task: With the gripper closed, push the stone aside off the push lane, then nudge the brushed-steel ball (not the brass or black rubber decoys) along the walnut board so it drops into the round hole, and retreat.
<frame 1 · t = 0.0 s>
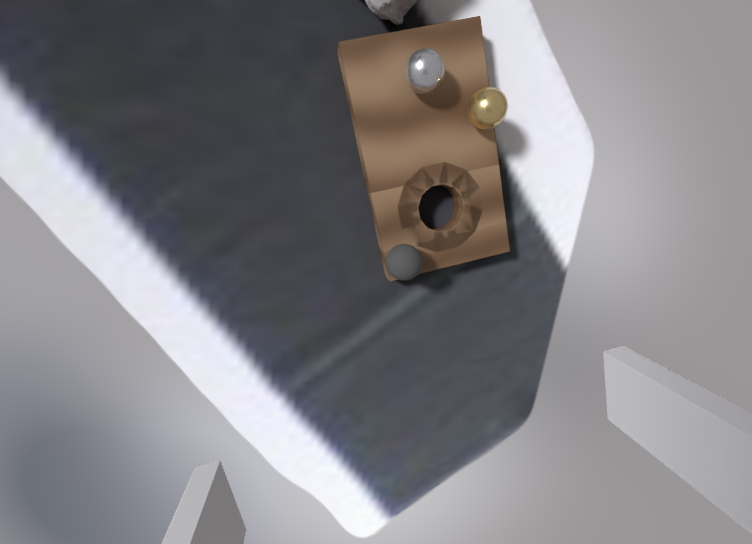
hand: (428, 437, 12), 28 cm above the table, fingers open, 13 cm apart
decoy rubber: (404, 262, 36), point 4 cm above the table, touching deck
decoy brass: (487, 108, 34), point 4 cm above the table, touching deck
ball: (424, 71, 32), point 4 cm above the table, touching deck
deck: (425, 158, 38), on the table
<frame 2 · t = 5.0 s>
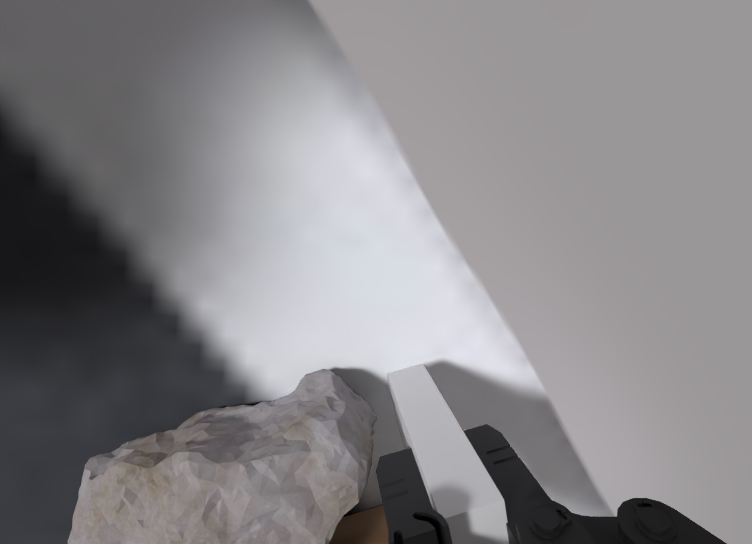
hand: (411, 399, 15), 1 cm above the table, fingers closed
stone: (255, 445, 16), on the table, touching gripper
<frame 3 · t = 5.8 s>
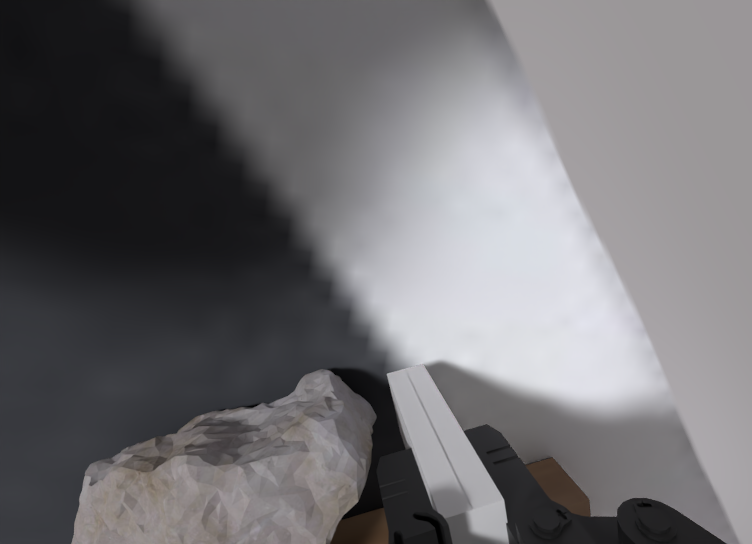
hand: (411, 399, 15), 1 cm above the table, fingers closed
stone: (256, 447, 16), on the table, touching gripper
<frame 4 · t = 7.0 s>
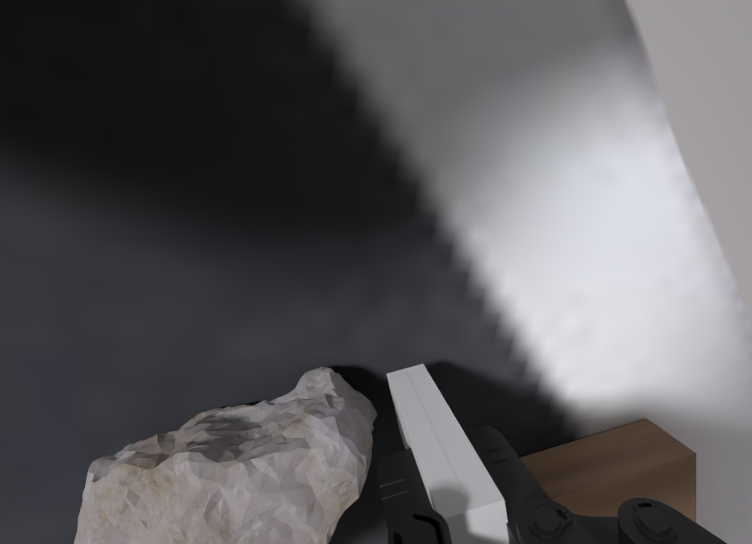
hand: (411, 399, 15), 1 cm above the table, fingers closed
stone: (258, 444, 16), on the table, touching gripper
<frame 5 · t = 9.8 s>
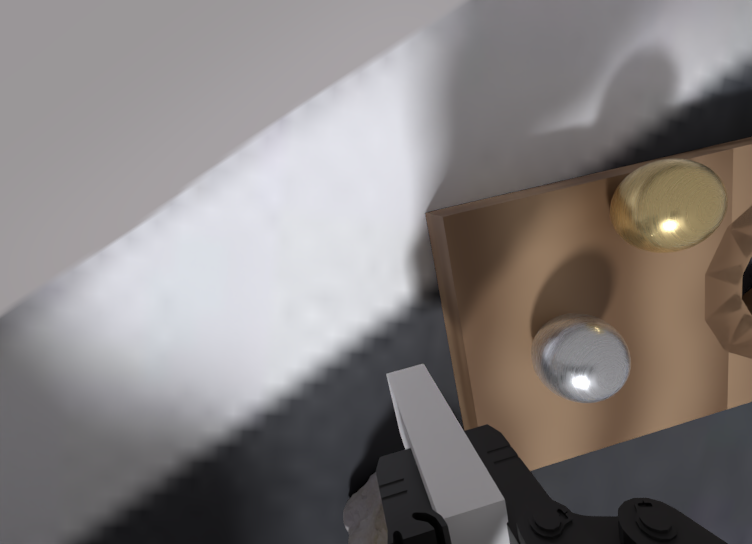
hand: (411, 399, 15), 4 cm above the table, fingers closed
stone: (411, 528, 21), on the table
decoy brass: (664, 206, 14), point 4 cm above the table, touching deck
ball: (578, 357, 15), point 4 cm above the table, touching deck
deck: (645, 287, 20), on the table
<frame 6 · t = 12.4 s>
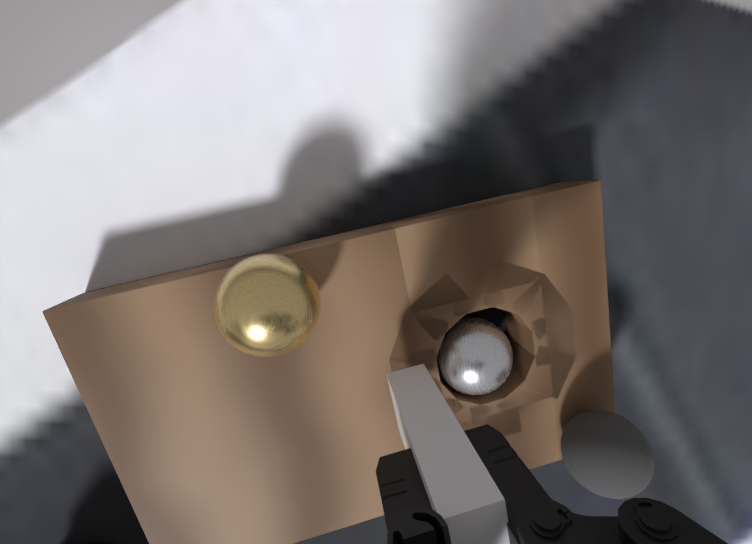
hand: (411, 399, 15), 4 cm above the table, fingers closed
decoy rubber: (604, 452, 16), point 4 cm above the table, touching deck
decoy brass: (269, 304, 13), point 4 cm above the table, touching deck
ball: (472, 355, 17), point 2 cm above the table, tilted 49°
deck: (369, 361, 18), on the table
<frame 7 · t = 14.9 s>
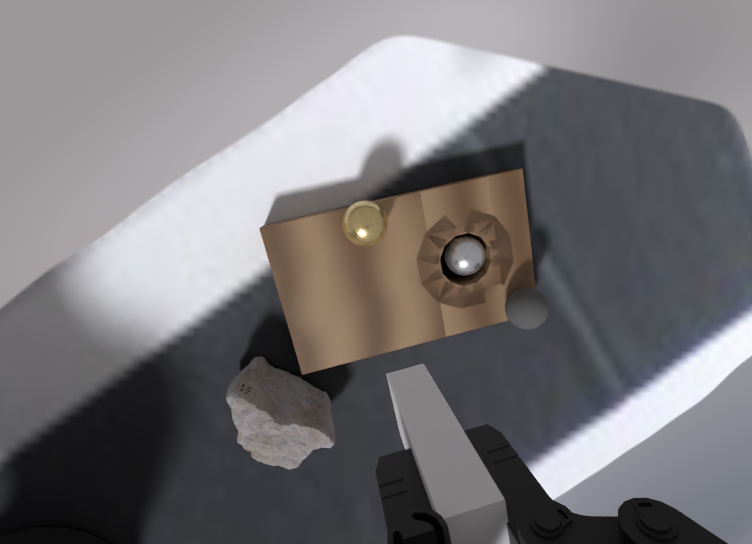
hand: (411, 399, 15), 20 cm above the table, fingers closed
stone: (281, 397, 36), on the table
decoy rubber: (526, 308, 32), point 4 cm above the table, touching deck
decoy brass: (365, 223, 29), point 4 cm above the table, touching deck
ball: (464, 255, 33), point 2 cm above the table, tilted 68°
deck: (403, 267, 34), on the table
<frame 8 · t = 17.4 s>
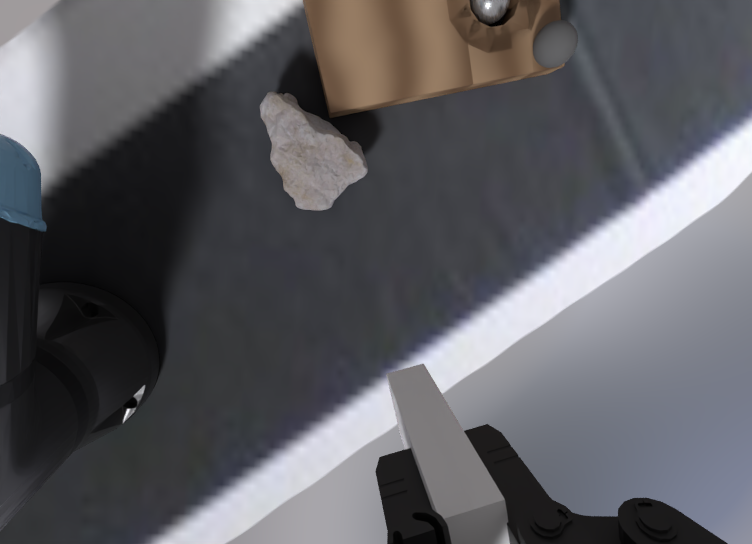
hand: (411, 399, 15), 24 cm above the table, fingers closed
stone: (310, 152, 35), on the table
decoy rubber: (554, 44, 32), point 4 cm above the table, touching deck
ball: (489, 1, 33), point 2 cm above the table, tilted 57°
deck: (430, 19, 34), on the table
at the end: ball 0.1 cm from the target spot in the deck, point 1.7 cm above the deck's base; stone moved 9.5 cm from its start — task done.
